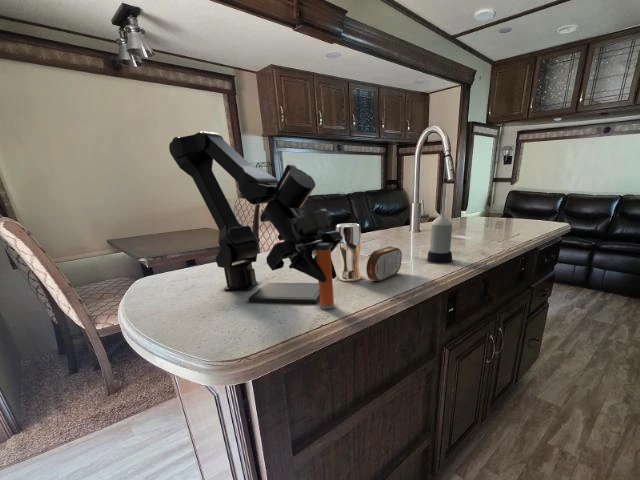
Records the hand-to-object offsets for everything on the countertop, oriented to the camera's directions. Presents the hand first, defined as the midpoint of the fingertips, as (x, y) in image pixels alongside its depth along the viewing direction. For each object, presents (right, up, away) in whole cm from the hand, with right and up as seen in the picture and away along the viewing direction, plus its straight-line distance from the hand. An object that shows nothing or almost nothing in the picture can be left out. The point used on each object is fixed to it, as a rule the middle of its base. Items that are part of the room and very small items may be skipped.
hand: (330, 279), depth 67 cm
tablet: (-11, -3, +11) cm, 16 cm away
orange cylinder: (-1, -6, +3) cm, 7 cm away
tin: (+13, +2, +24) cm, 27 cm away
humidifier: (+33, +9, +42) cm, 54 cm away
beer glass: (+3, +2, +23) cm, 24 cm away
